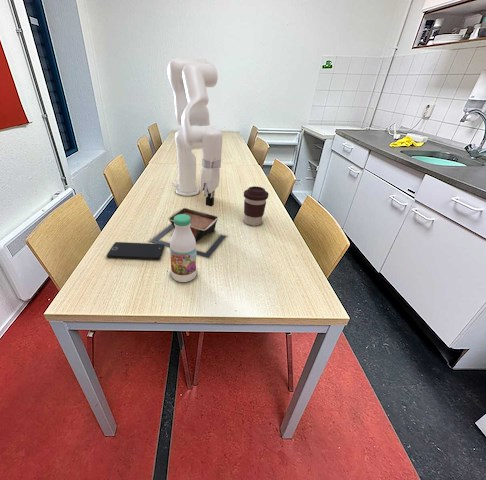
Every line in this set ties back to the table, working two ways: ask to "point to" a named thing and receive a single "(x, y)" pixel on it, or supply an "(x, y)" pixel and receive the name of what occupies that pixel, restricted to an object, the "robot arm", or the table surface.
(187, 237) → the milk bottle
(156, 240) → the tape outline
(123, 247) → the cell phone
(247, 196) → the coffee cup
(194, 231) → the baking dish
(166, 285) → the table surface
